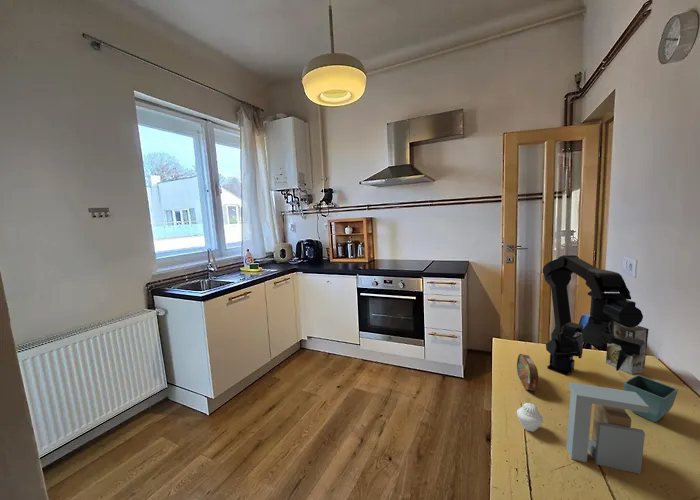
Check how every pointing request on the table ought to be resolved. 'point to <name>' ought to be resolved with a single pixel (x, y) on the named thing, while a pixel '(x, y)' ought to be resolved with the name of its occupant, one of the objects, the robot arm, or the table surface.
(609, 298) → the robot arm
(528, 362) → the tin
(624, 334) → the coffee box
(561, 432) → the table surface
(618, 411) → the brown wooden block
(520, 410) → the muffin
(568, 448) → the grey gallows bracket
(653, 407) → the flower pot
